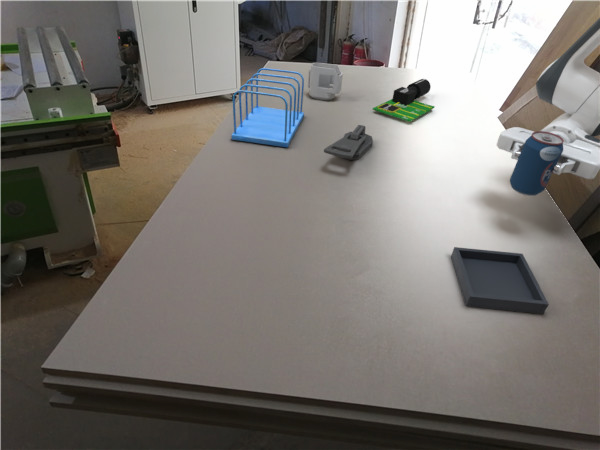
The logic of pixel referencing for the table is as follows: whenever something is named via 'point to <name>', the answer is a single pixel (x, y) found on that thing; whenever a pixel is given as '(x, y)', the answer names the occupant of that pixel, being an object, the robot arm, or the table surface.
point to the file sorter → (268, 114)
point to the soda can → (536, 163)
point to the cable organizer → (324, 81)
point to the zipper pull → (351, 144)
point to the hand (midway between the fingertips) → (535, 163)
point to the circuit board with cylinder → (407, 101)
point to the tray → (497, 281)
